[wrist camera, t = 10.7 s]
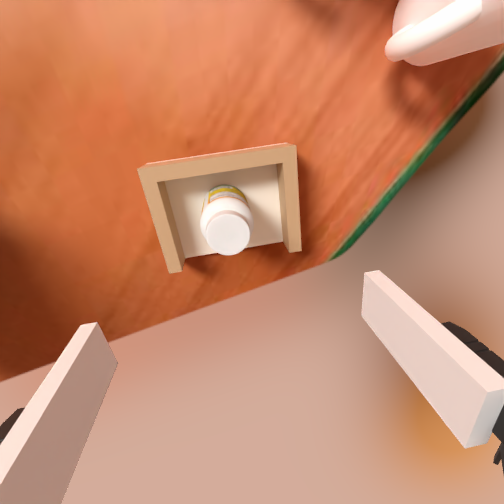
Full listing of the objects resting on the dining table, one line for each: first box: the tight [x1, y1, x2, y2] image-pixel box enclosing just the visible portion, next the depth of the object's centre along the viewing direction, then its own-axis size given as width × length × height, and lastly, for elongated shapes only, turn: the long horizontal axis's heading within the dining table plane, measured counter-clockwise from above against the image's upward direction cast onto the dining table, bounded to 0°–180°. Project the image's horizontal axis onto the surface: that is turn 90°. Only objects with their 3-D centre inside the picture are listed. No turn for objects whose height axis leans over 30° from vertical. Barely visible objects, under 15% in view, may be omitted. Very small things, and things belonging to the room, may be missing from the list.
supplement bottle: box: [200, 184, 254, 255], centre depth 28 cm, size 5×5×10 cm
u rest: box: [137, 143, 302, 274], centre depth 31 cm, size 16×12×4 cm
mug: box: [385, 0, 504, 66], centre depth 22 cm, size 8×12×12 cm
